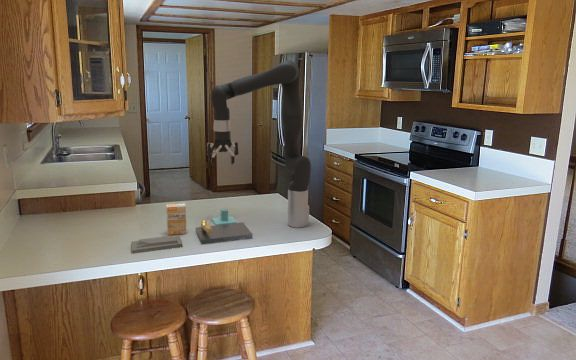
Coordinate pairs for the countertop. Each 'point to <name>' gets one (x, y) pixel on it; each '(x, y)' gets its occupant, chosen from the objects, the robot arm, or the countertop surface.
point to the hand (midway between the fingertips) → (223, 164)
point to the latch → (205, 226)
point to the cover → (224, 218)
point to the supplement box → (176, 219)
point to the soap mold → (156, 244)
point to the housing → (224, 233)
